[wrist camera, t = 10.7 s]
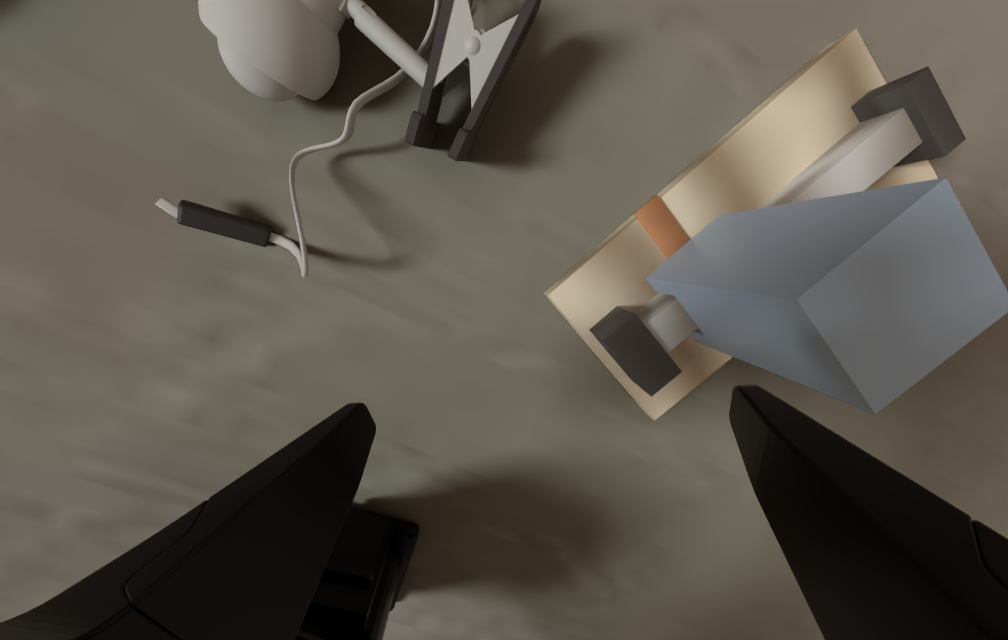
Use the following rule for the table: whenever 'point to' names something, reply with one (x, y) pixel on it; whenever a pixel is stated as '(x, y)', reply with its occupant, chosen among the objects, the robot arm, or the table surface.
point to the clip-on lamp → (314, 66)
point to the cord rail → (750, 205)
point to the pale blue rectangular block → (841, 288)
